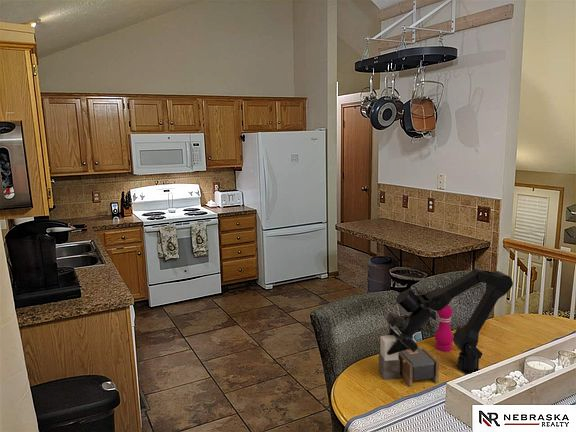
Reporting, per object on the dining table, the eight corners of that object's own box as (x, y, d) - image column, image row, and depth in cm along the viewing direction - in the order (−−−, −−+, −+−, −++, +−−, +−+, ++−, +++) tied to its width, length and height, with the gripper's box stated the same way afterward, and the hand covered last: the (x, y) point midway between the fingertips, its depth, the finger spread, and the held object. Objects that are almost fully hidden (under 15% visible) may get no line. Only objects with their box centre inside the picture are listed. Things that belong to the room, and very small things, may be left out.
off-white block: (393, 352, 166) (393, 335, 165) (398, 359, 161) (398, 341, 160) (380, 353, 166) (380, 335, 165) (384, 360, 160) (384, 342, 159)
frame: (425, 368, 168) (425, 347, 167) (439, 383, 158) (440, 361, 156) (395, 371, 166) (395, 351, 165) (408, 387, 156) (408, 365, 154)
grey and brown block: (417, 361, 170) (418, 346, 169) (434, 377, 157) (434, 361, 156) (398, 363, 168) (398, 348, 167) (412, 380, 156) (413, 364, 155)
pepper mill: (431, 344, 187) (432, 299, 184) (448, 343, 188) (449, 298, 185) (438, 352, 180) (440, 305, 177) (456, 351, 181) (457, 304, 178)
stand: (394, 369, 168) (394, 352, 167) (399, 378, 161) (400, 360, 160) (378, 370, 167) (378, 353, 166) (383, 379, 161) (383, 361, 160)
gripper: (392, 297, 170) (363, 326, 171) (409, 315, 151) (376, 348, 152) (412, 315, 171) (384, 344, 172) (431, 336, 153) (399, 368, 154)
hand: (385, 350), depth 163 cm, fingers closed on off-white block, 5 cm apart
